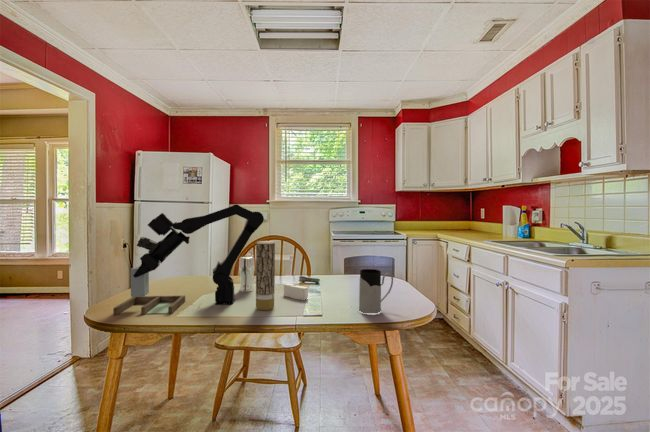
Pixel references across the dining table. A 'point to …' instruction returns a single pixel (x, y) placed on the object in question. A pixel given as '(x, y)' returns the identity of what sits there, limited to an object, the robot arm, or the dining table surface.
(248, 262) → the white streaked block
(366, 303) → the grey mug
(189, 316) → the dining table surface
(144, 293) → the tall grey square prism
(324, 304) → the dining table surface
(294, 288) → the white rectangular block
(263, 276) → the bark textured cylinder
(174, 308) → the comb rack
